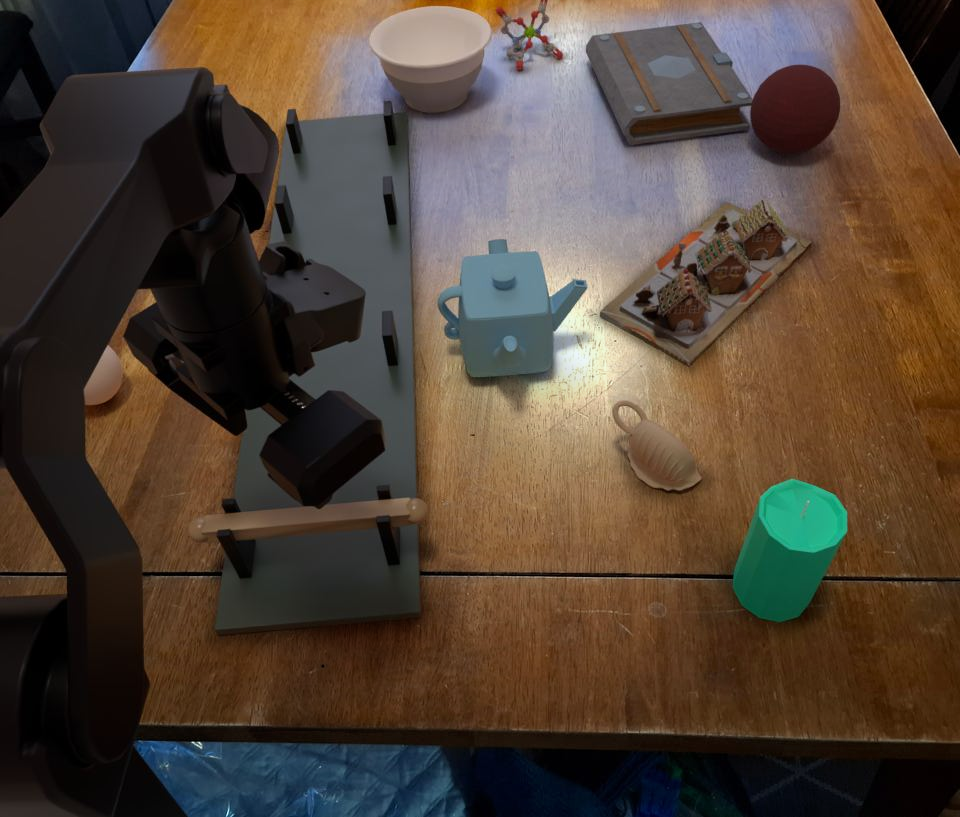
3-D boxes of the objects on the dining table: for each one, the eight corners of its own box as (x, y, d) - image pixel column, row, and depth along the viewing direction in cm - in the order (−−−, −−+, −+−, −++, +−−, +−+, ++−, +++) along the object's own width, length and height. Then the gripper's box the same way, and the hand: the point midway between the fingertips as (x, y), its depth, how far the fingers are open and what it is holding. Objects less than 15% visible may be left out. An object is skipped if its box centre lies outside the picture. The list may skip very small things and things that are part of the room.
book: (585, 65, 119) (586, 30, 115) (699, 50, 120) (705, 15, 116) (622, 148, 106) (625, 112, 102) (751, 132, 107) (759, 95, 103)
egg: (103, 427, 81) (70, 373, 75) (57, 407, 83) (20, 353, 77) (146, 383, 84) (117, 329, 78) (100, 365, 86) (68, 310, 80)
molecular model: (493, 51, 123) (491, -1, 117) (542, 37, 125) (542, -15, 119) (515, 73, 119) (514, 20, 113) (566, 58, 121) (567, 5, 115)
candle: (827, 598, 66) (874, 513, 57) (768, 636, 64) (807, 555, 55) (773, 541, 69) (809, 452, 60) (715, 575, 68) (743, 490, 58)
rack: (421, 617, 67) (410, 570, 61) (217, 635, 67) (187, 590, 61) (407, 118, 113) (400, 64, 107) (287, 128, 113) (274, 75, 107)
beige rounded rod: (429, 527, 66) (427, 513, 64) (190, 548, 66) (182, 535, 64) (428, 506, 67) (426, 492, 66) (194, 526, 67) (186, 513, 66)
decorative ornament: (670, 506, 72) (678, 469, 68) (602, 446, 76) (605, 408, 72) (703, 480, 74) (713, 443, 69) (634, 423, 78) (640, 384, 74)
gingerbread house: (599, 317, 87) (602, 268, 82) (725, 207, 97) (734, 158, 92) (688, 367, 82) (697, 317, 77) (811, 245, 92) (826, 195, 87)
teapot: (440, 293, 90) (432, 216, 83) (572, 283, 90) (575, 205, 83) (446, 425, 79) (437, 349, 71) (597, 413, 79) (603, 336, 71)
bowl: (354, 101, 116) (343, 40, 110) (434, 54, 123) (429, -6, 117) (437, 141, 109) (431, 79, 102) (518, 89, 116) (517, 27, 110)
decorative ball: (839, 137, 105) (863, 60, 97) (810, 180, 100) (833, 102, 92) (761, 116, 109) (778, 40, 101) (730, 156, 104) (745, 79, 96)
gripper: (440, 294, 45) (460, 466, 57) (233, 164, 54) (288, 338, 66) (274, 417, 40) (334, 577, 52) (76, 252, 49) (166, 422, 61)
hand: (280, 466), depth 58 cm, fingers open, 9 cm apart
